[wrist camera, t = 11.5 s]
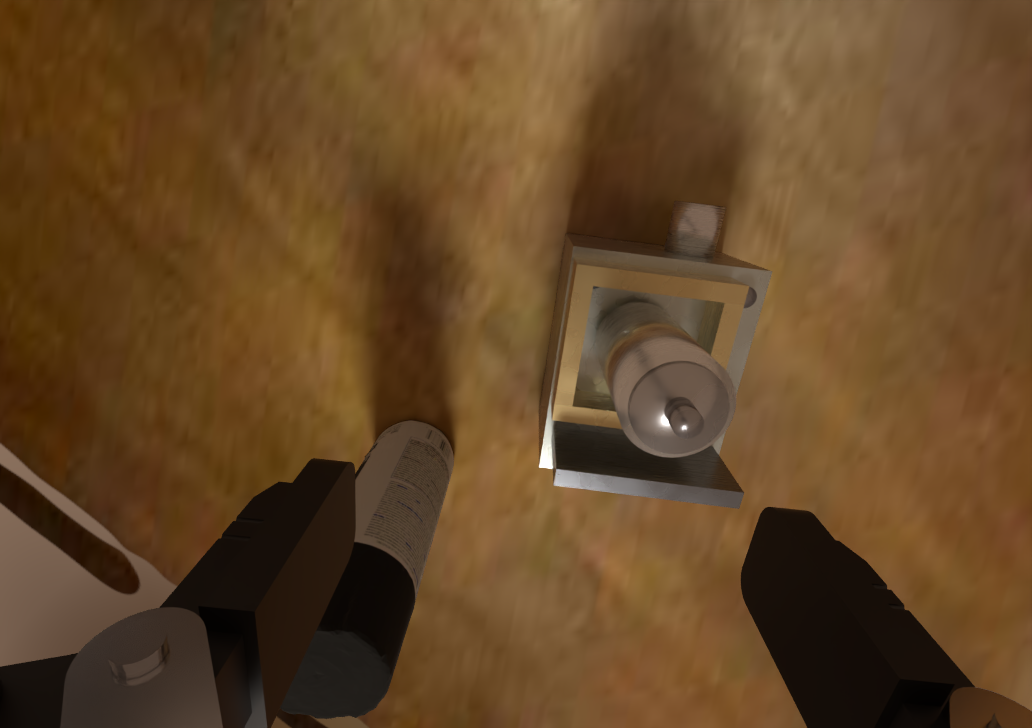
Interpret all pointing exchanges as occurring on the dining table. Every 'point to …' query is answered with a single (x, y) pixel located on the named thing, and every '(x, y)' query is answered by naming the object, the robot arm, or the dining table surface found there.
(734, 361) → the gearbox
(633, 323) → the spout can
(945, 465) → the dining table surface
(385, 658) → the spray can
